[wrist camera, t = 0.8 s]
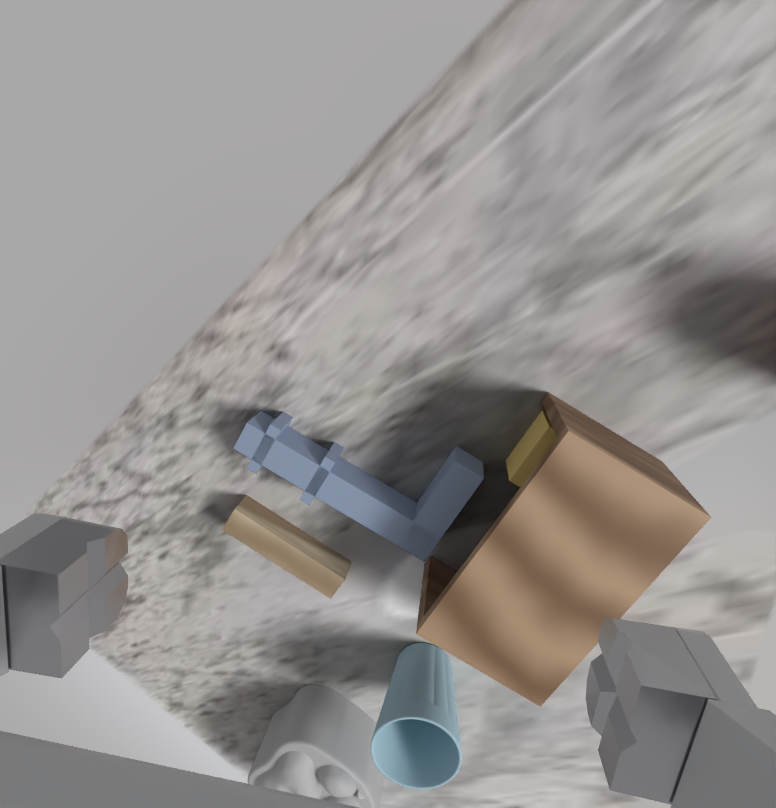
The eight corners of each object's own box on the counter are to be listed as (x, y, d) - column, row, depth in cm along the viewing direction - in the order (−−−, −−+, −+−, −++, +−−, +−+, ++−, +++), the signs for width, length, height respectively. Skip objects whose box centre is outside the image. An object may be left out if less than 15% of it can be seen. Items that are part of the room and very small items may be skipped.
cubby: (548, 392, 48) (568, 430, 38) (662, 461, 48) (711, 517, 39) (424, 563, 54) (416, 633, 44) (527, 624, 54) (540, 706, 45)
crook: (294, 348, 50) (281, 356, 46) (482, 461, 50) (483, 478, 47) (243, 443, 53) (228, 457, 49) (421, 548, 53) (418, 569, 50)
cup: (465, 637, 56) (465, 725, 46) (459, 700, 58) (457, 796, 48) (389, 628, 56) (372, 711, 47) (385, 690, 59) (369, 782, 49)
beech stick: (247, 493, 55) (234, 508, 51) (351, 560, 55) (345, 579, 52) (235, 513, 55) (221, 529, 52) (338, 578, 56) (330, 598, 53)
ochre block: (541, 409, 48) (549, 426, 44) (586, 436, 48) (597, 456, 44) (505, 460, 50) (509, 480, 46) (548, 486, 50) (556, 509, 46)
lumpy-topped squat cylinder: (316, 673, 59) (292, 744, 51) (409, 746, 60) (401, 827, 52) (259, 727, 62) (228, 801, 54) (349, 795, 64) (332, 879, 55)
